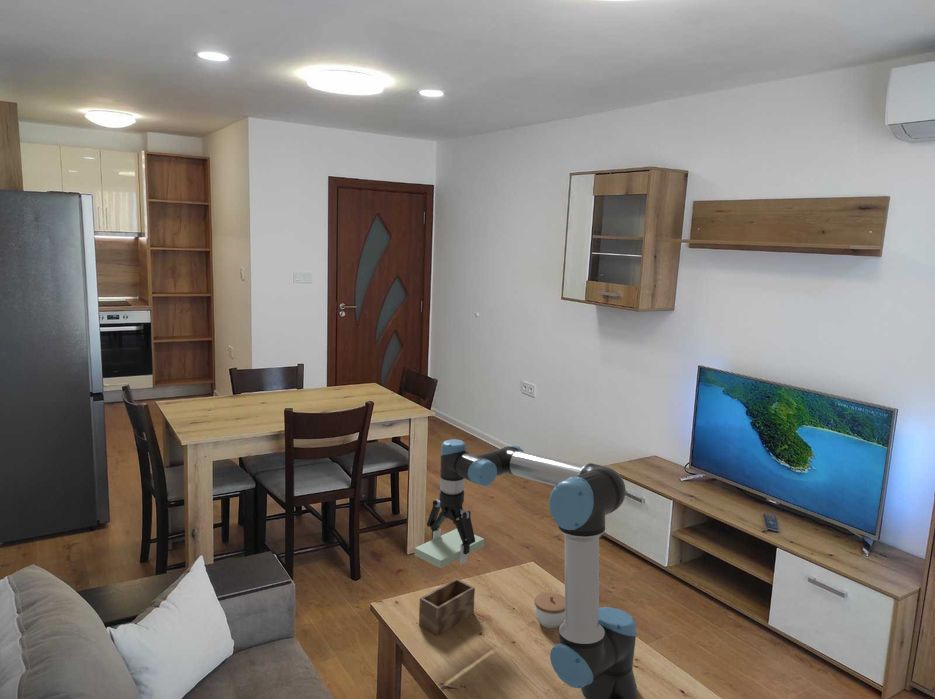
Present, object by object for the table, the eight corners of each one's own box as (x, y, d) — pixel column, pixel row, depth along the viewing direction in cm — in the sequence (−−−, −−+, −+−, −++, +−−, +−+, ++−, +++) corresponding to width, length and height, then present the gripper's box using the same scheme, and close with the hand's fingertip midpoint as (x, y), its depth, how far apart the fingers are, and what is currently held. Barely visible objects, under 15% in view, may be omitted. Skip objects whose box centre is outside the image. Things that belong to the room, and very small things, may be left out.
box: (455, 605, 223) (456, 578, 221) (473, 615, 218) (474, 587, 216) (418, 627, 211) (419, 598, 209) (437, 638, 205) (438, 608, 204)
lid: (458, 537, 221) (458, 527, 220) (483, 548, 214) (484, 538, 213) (414, 558, 206) (414, 547, 205) (440, 571, 199) (440, 560, 198)
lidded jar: (565, 635, 210) (567, 608, 208) (531, 630, 212) (533, 602, 210) (567, 616, 220) (569, 590, 218) (534, 611, 222) (536, 585, 220)
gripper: (489, 497, 201) (486, 564, 205) (433, 476, 216) (431, 539, 220) (472, 504, 195) (469, 573, 200) (416, 482, 211) (415, 547, 215)
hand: (449, 555), depth 210 cm, fingers closed on lid, 11 cm apart
